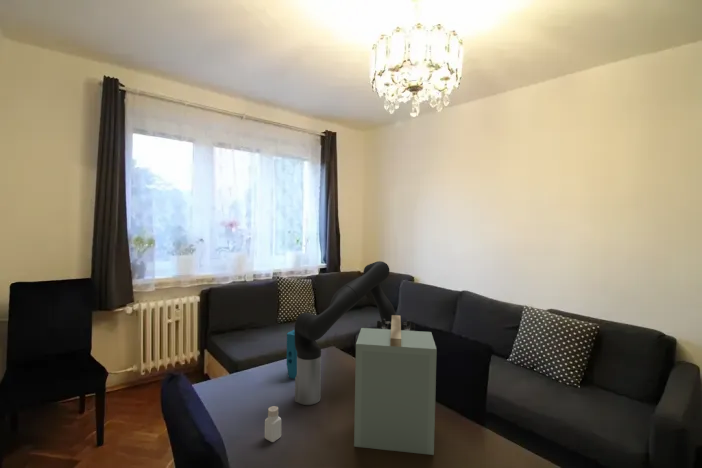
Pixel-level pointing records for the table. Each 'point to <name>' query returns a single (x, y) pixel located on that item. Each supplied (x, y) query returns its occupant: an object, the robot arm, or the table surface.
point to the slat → (395, 331)
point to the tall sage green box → (395, 391)
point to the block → (291, 355)
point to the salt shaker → (273, 425)
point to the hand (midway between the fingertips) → (396, 322)
